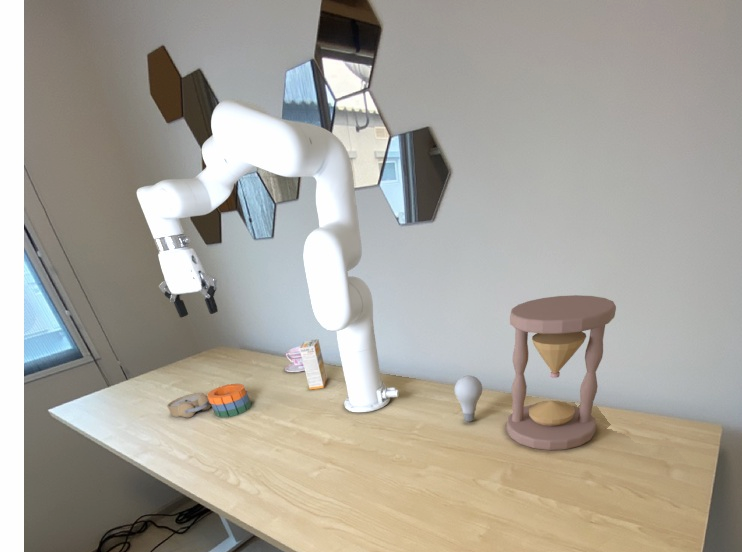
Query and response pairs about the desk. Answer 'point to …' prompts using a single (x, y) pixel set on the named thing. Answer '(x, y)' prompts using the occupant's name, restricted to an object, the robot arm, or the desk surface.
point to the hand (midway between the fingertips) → (199, 314)
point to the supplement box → (313, 364)
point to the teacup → (294, 360)
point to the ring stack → (232, 407)
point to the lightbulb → (468, 395)
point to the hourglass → (557, 367)
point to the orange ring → (218, 394)
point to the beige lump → (189, 405)
